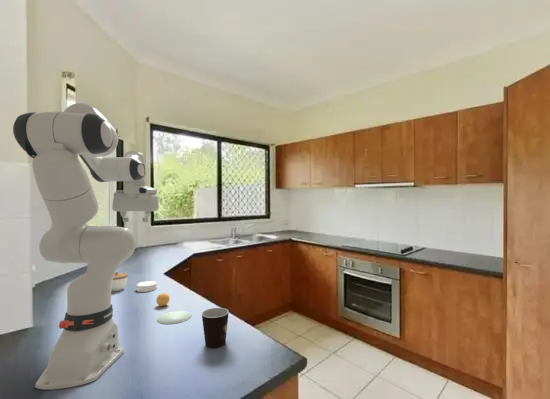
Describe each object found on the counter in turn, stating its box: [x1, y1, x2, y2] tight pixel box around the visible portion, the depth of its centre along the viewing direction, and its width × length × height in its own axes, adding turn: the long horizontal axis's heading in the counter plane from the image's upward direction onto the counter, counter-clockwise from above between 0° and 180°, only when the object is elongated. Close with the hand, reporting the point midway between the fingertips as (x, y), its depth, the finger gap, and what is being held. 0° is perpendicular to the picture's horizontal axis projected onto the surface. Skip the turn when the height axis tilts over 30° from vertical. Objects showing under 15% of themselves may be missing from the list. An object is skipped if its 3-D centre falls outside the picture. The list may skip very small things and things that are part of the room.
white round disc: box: [136, 280, 158, 293], centre depth 153 cm, size 10×10×4 cm
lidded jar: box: [111, 271, 128, 292], centre depth 153 cm, size 11×11×9 cm
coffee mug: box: [201, 307, 230, 349], centre depth 93 cm, size 12×9×10 cm
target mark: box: [156, 310, 192, 325], centre depth 114 cm, size 13×13×1 cm
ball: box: [155, 292, 170, 307], centre depth 127 cm, size 6×6×6 cm
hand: (135, 221), depth 122 cm, fingers open, 8 cm apart
